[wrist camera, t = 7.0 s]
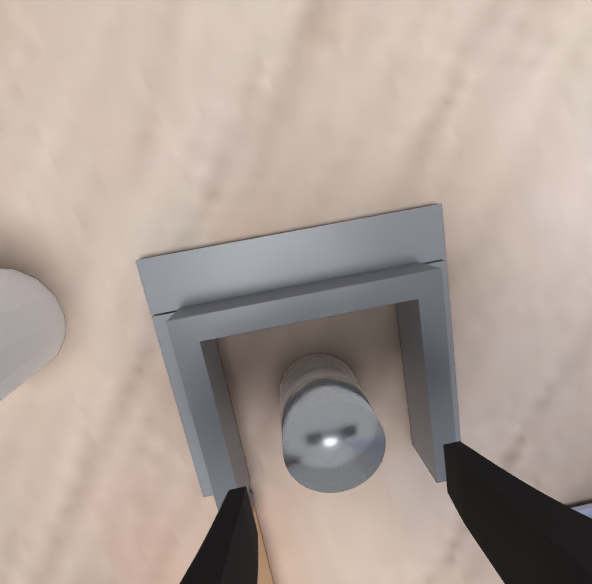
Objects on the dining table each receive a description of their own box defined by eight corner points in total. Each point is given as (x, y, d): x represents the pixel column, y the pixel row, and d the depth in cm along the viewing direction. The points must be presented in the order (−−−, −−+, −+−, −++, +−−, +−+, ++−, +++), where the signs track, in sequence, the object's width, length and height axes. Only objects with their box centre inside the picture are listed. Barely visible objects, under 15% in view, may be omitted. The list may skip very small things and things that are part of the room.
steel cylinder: (350, 346, 18) (379, 392, 14) (360, 415, 19) (390, 480, 15) (272, 362, 18) (273, 413, 13) (287, 430, 19) (293, 502, 14)
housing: (436, 204, 17) (470, 200, 14) (455, 435, 20) (486, 472, 17) (140, 259, 17) (112, 266, 14) (205, 489, 20) (193, 535, 17)
